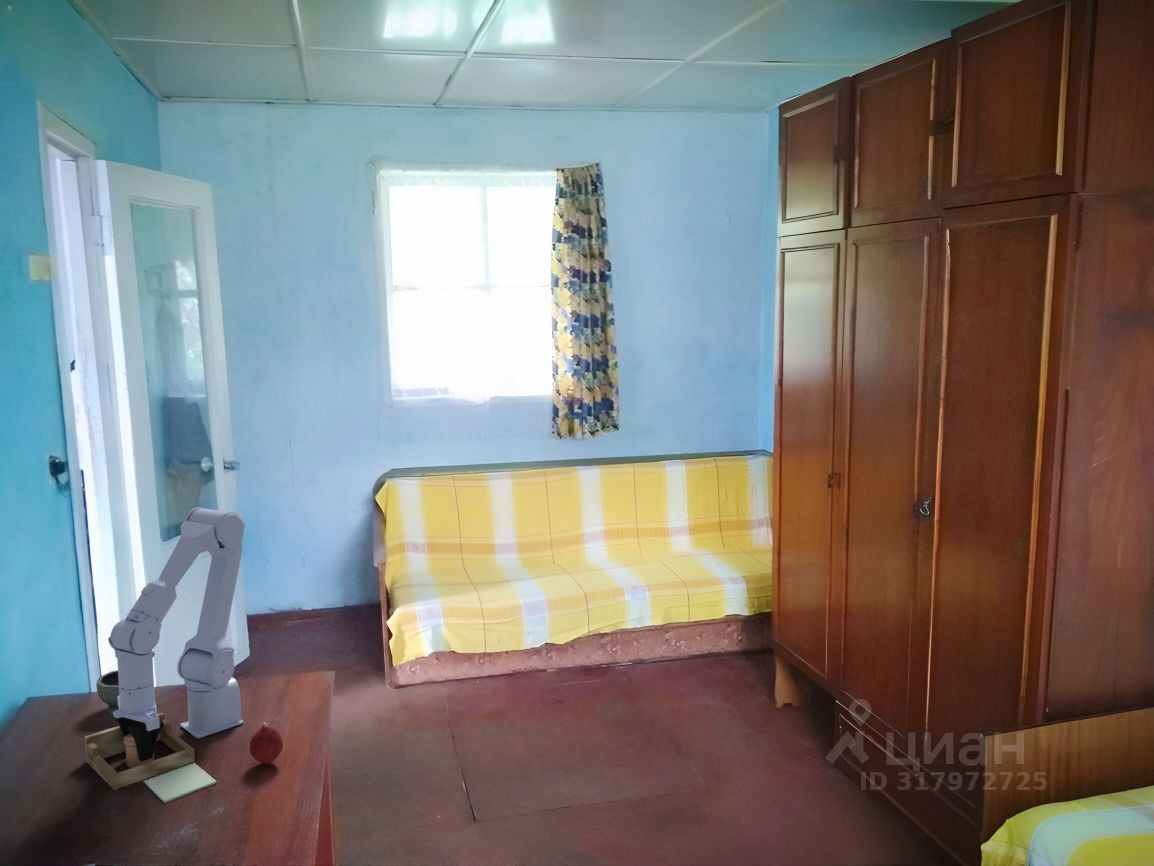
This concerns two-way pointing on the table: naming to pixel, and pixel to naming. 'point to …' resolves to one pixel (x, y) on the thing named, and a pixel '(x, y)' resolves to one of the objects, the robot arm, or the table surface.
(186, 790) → the mat
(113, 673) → the mortar and pestle
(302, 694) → the table surface
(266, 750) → the onion
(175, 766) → the wooden frame
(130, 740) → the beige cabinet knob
